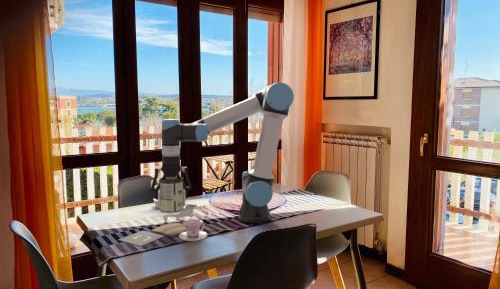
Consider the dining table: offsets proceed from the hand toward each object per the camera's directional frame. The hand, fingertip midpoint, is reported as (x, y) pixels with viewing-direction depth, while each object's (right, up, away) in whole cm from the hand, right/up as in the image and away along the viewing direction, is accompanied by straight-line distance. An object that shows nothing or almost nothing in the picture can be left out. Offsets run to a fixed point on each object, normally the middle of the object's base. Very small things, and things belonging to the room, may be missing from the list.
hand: (171, 206), depth 161 cm
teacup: (+10, -12, -6) cm, 17 cm away
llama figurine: (+4, -10, +15) cm, 18 cm away
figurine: (-14, -7, +39) cm, 42 cm away
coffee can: (0, -2, 0) cm, 2 cm away
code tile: (-11, -12, -9) cm, 18 cm away
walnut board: (0, -11, +1) cm, 11 cm away
